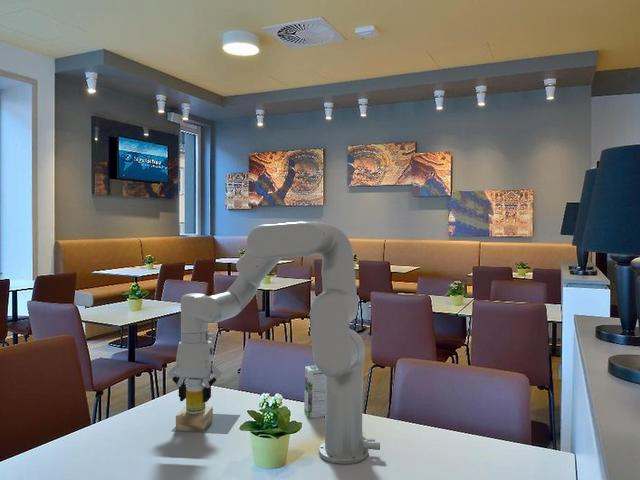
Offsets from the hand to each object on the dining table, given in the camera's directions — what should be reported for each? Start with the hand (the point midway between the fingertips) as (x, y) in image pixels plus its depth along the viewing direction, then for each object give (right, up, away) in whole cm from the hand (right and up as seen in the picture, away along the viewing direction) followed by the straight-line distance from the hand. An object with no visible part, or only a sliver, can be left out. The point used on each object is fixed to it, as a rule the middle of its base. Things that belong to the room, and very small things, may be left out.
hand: (194, 399), depth 144 cm
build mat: (+3, -9, +2) cm, 9 cm away
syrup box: (+34, -9, +12) cm, 37 cm away
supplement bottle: (0, -4, 0) cm, 4 cm away
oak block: (0, -7, 0) cm, 7 cm away
